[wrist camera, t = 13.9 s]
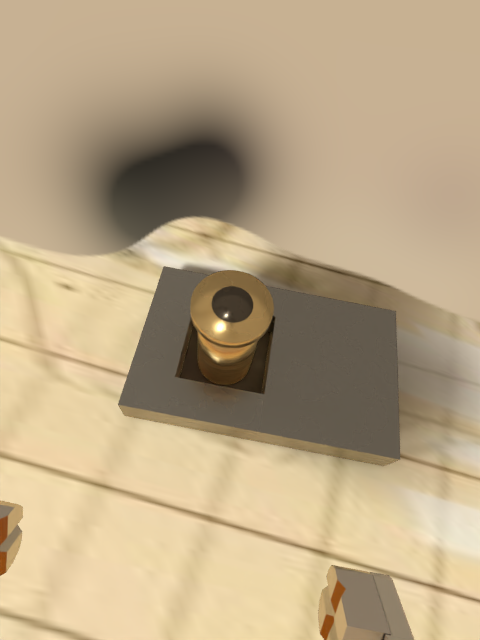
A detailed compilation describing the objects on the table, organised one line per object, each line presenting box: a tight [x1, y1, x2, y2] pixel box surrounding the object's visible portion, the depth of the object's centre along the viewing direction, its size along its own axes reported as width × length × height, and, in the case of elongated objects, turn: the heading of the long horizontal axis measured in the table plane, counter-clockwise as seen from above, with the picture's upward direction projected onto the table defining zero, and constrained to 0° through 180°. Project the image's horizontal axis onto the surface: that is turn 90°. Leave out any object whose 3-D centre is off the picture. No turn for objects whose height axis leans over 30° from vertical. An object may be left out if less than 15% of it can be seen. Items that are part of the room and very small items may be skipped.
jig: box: [118, 266, 400, 466], centre depth 29 cm, size 18×11×2 cm, turn 80°
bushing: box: [190, 270, 274, 385], centre depth 26 cm, size 5×5×8 cm
